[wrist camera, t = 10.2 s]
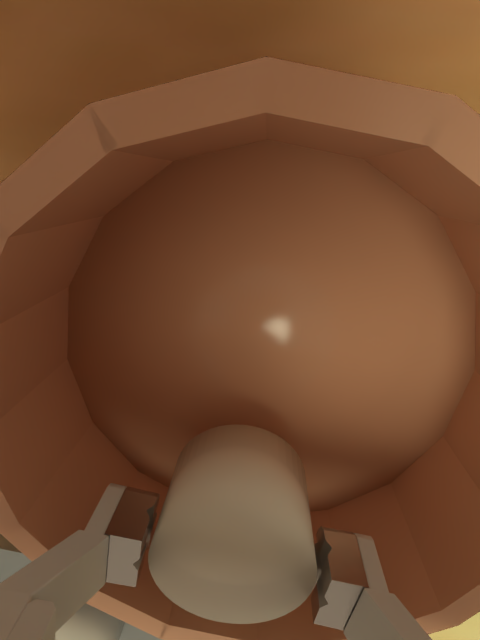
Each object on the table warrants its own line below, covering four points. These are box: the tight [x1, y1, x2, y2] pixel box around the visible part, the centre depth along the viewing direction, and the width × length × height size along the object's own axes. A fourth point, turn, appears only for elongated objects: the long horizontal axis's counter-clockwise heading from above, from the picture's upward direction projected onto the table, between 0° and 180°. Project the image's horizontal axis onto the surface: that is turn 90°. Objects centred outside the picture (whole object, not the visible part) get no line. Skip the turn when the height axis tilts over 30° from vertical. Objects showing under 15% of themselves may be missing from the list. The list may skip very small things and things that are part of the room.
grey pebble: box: [55, 603, 125, 640], centre depth 18 cm, size 4×4×3 cm
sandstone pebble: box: [148, 424, 317, 624], centre depth 11 cm, size 4×4×3 cm
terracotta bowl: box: [0, 56, 480, 640], centre depth 12 cm, size 16×16×6 cm
